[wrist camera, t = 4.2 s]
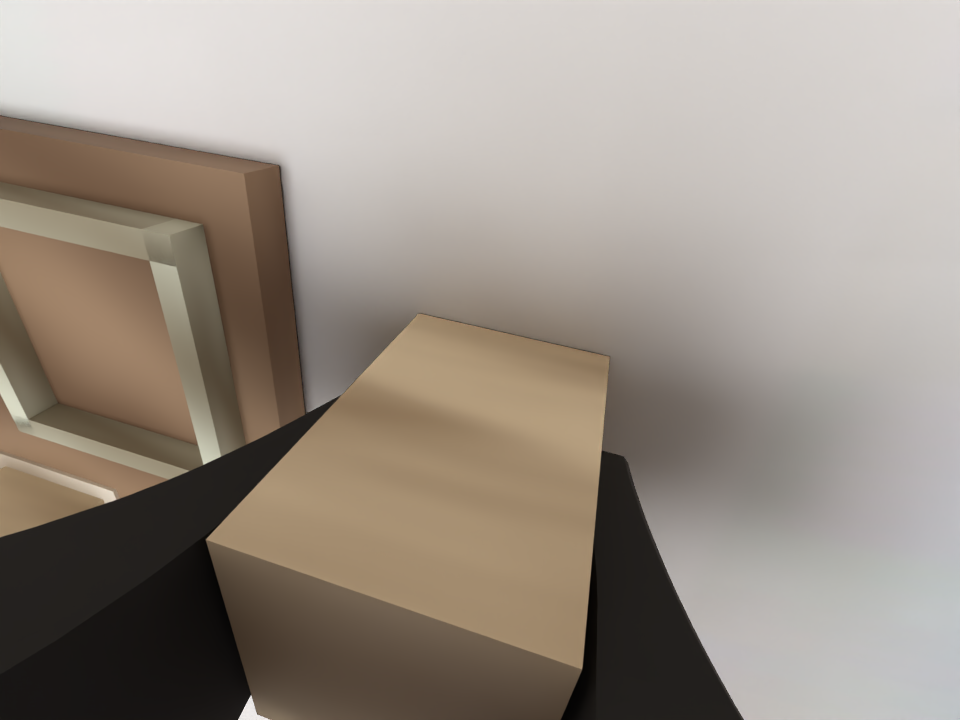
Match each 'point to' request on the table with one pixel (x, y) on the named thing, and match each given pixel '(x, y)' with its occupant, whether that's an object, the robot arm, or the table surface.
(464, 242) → the table surface
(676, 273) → the table surface
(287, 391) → the board
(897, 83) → the table surface
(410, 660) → the maple peg
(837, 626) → the table surface
